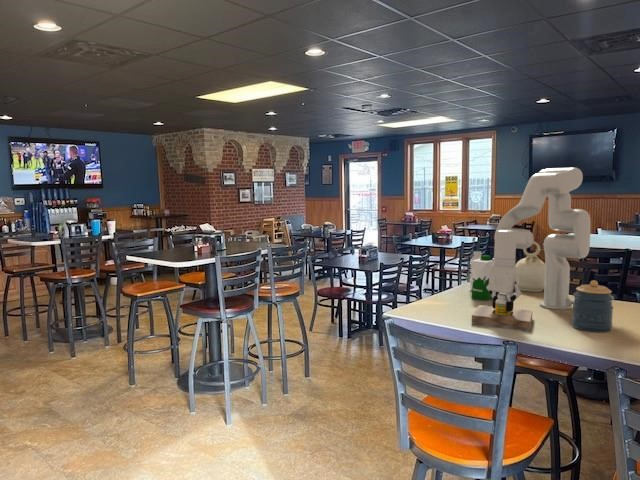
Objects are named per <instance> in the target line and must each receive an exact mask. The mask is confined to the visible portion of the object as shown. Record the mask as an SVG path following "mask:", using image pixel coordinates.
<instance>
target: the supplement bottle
mask: <svg viewBox="0 0 640 480" xmlns="http://www.w3.org/2000/svg"><path fill="white" fill-rule="evenodd" d="M497 297H498V299H497V300H496V301H495V314H498V315H507V316H510V312H507V311H506V302H507V301H508V298H507V294H504V293H499V294H498V295H497Z"/></svg>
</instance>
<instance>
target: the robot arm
mask: <svg viewBox="0 0 640 480" xmlns="http://www.w3.org/2000/svg"><path fill="white" fill-rule="evenodd" d="M583 177H584V176H583V172H582V170H581V169H580V168H578V167H552V168H551V167H550V168H549V167H548V168H545V169H544V168H543V169H541V170H540V171H538V172H537V173H535V174H533V175H531V177H530V178H529V180H528V182H527V183H526V184H527V185H526V186H525V187H524V188H525V189H524V191H523V193H522V195H521V198H520V200H519V203H518V204H517V205H515V206H513V207H512V208H511V209H510V210H509V211H507V212H506V213H504V214H503V216H502V217H501V219H499V222H498V224H497V226H496V229H495V232H494V237H493V238H494V251H493V253H494V255H493V258H492V259H491V260H492V261H493V262H494V265H492V267H491V271H490V277H489V284H488V285H487V287H486V288H487V290H488V291H489V293H490V294H491V297H492V306H493V308H495V301H496V300H497V299H498V297H497V295H498V294H507V298H508V301H507V302H506V311H507V312H510V311H513V309H514V302H515V301H516V299H518V298H519V297H520V296H522V294H523V293H522V291H521V290H519V288H518V275H517V268H516V267H515V266H516V253H517V250H516V249H518V250H519V249H521V250H523V249H526V248H527V249H528V248H530V247H531V246H532V245H534V244H533V241H534V240H535V238H534V237H535V236H534V234H533V232H531V231H530V230H528V229H526V228H525V229H523V228H514V225H516V224H517V223H519V222H520V221H523V220H526V219H529V218H531V217H534V216H537V215H538V214H539V213H541V211H542V209H543V206H544V204H545V202H546V199H547V198H548V215H547V217H548V220H547V221H548V226H549V228H550V230H552V231H557V232H568V233H569V232H570V233H573V234H574V235H573V234H566V233H565V234H564V233H563V234H562V233H551V234H548V235H547V236H546V237H545V238H544V241H543V250H544V258H545V259H544V261H545V262H544V263H545V283H544V288H543V301H542V300H541V301H540V302H539V306H540V307H542V308H545V309H549V310H557V311H558V310H560V311H561V310H563V311H569V310H571V309H573V302H574V299H573V298H572V299H571V298H570V296H569V293H570V292H569V291H570V275H571V274H570V273H571V271H570V270H571V267H570V264H569V261H568V260H567V259H566V258H571V259H585V258H586V257H587V256H588V255H589V252H590V245H591V222H592V221H591V215H590V214H589V212H588V211H586V209H585V210H584V209H581V208H572V196H571V193H570V192H572V191H574V190H576V189H578V188H579V187H580V186H581V185H582V182H583V179H584V178H583ZM534 242H535V241H534ZM527 249H526V250H527Z"/></svg>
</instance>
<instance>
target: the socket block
mask: <svg viewBox="0 0 640 480" xmlns="http://www.w3.org/2000/svg"><path fill="white" fill-rule="evenodd" d="M533 312H534V311H533V310H530V309H523V308H522V309H521V308H513V311H510V316H507V315H498V314H495V308H493V305H491V306H489V305H480V304H479V305H478V306H477V307H476V309H475V310H474V312H472V314H471V325H475V326H476V325H477V326H484V327H491V328H500V329H507V330H508V329H509V330H518V331H524V332H530V330H531V326H532V321H533Z"/></svg>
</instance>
